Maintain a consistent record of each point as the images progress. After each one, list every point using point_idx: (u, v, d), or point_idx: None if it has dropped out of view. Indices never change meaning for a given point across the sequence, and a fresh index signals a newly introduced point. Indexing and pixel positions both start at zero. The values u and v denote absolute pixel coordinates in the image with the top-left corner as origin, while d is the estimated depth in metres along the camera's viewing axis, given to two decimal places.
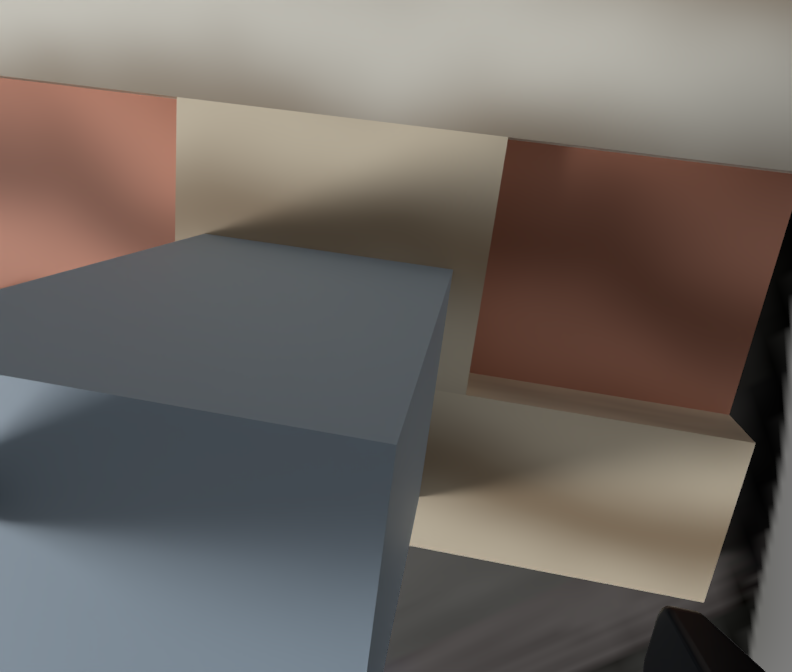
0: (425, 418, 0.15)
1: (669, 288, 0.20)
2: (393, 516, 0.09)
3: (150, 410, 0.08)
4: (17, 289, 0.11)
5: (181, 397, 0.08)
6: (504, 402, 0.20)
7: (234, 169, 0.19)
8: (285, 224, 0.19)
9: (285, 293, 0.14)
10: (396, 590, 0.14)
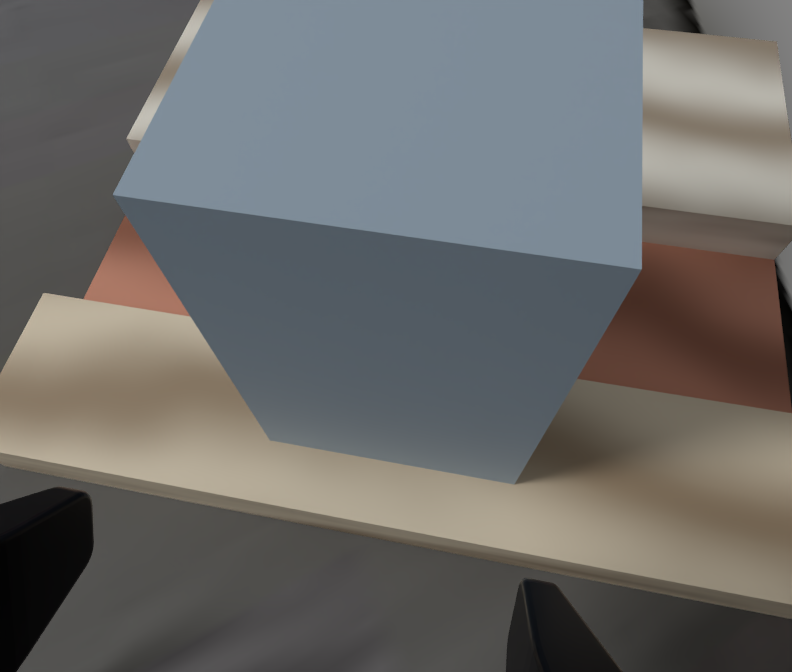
0: None
1: (704, 331, 0.24)
2: None
3: None
4: None
5: None
6: (592, 381, 0.21)
7: None
8: None
9: None
10: None
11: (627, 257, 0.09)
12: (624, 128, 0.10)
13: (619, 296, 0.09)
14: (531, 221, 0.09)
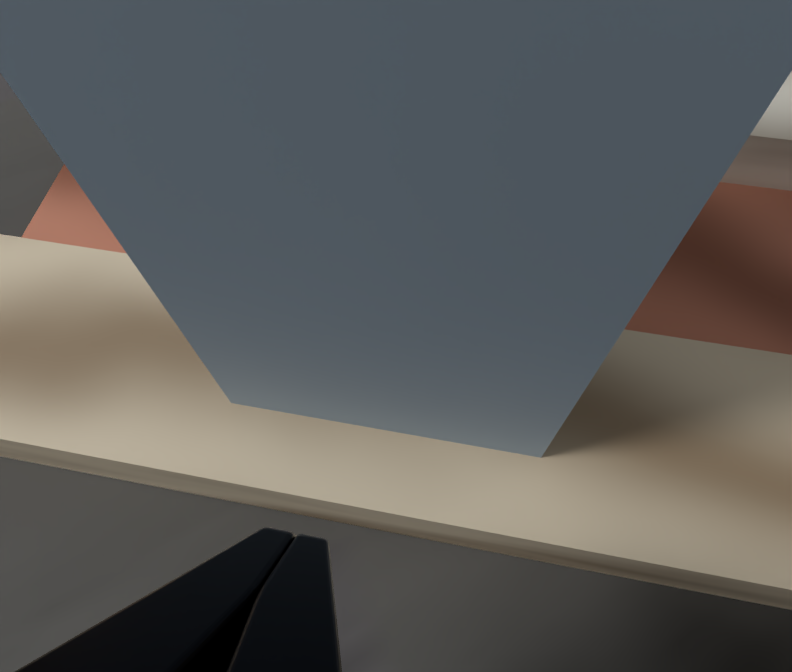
0: None
1: (765, 279, 0.20)
2: None
3: None
4: None
5: None
6: (636, 331, 0.17)
7: None
8: None
9: None
10: None
11: None
12: None
13: (784, 64, 0.05)
14: None
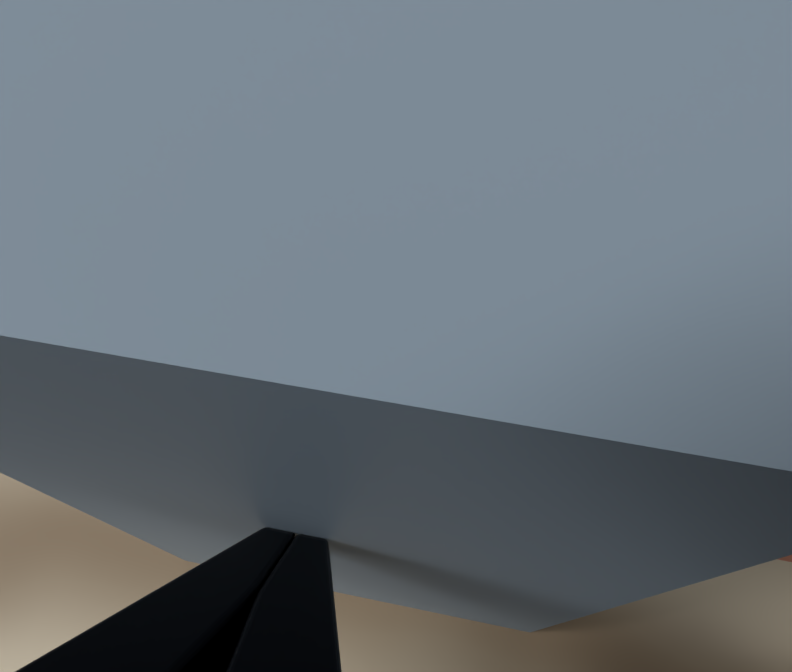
0: None
1: None
2: None
3: None
4: None
5: None
6: None
7: None
8: None
9: None
10: None
11: None
12: None
13: None
14: (622, 343, 0.03)
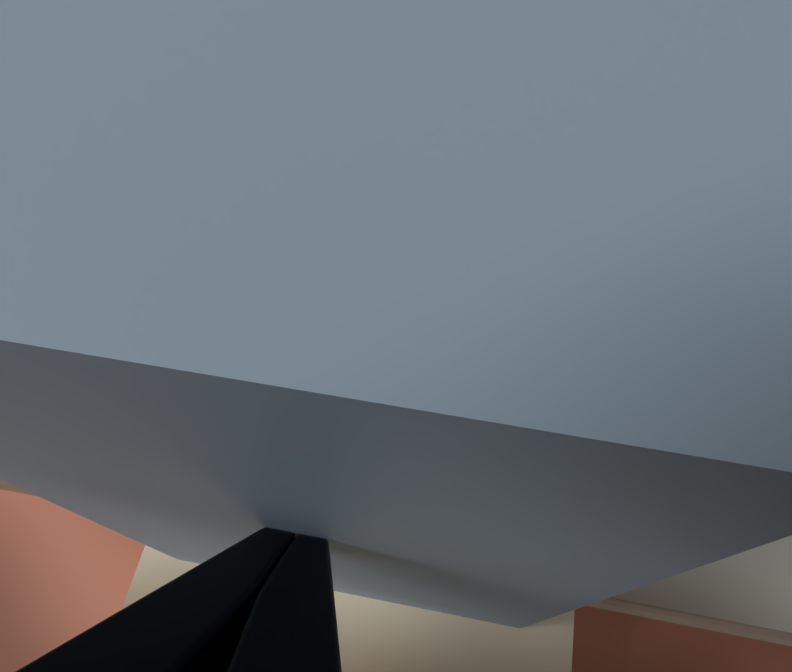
0: None
1: None
2: None
3: None
4: None
5: None
6: None
7: None
8: None
9: None
10: None
11: None
12: (785, 91, 0.04)
13: None
14: (577, 337, 0.03)
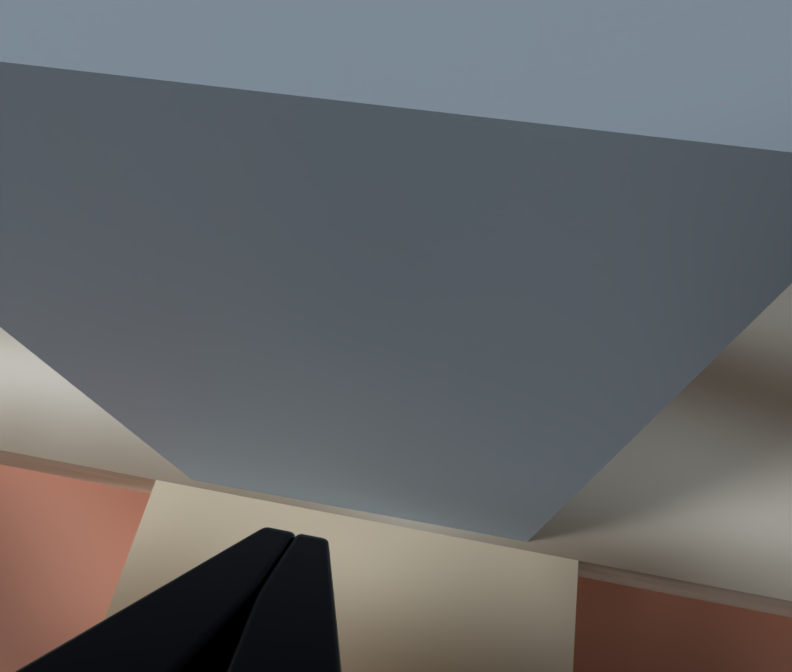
0: None
1: None
2: None
3: None
4: None
5: None
6: None
7: None
8: None
9: None
10: None
11: None
12: None
13: None
14: (601, 61, 0.04)
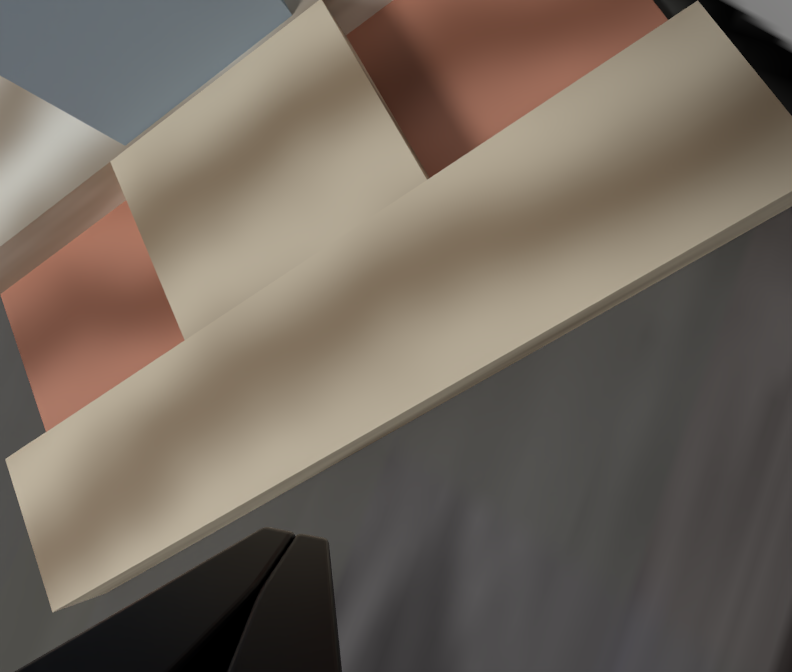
0: None
1: (539, 12, 0.21)
2: None
3: None
4: None
5: None
6: (462, 157, 0.19)
7: (165, 172, 0.23)
8: (215, 176, 0.22)
9: None
10: None
11: None
12: None
13: None
14: None
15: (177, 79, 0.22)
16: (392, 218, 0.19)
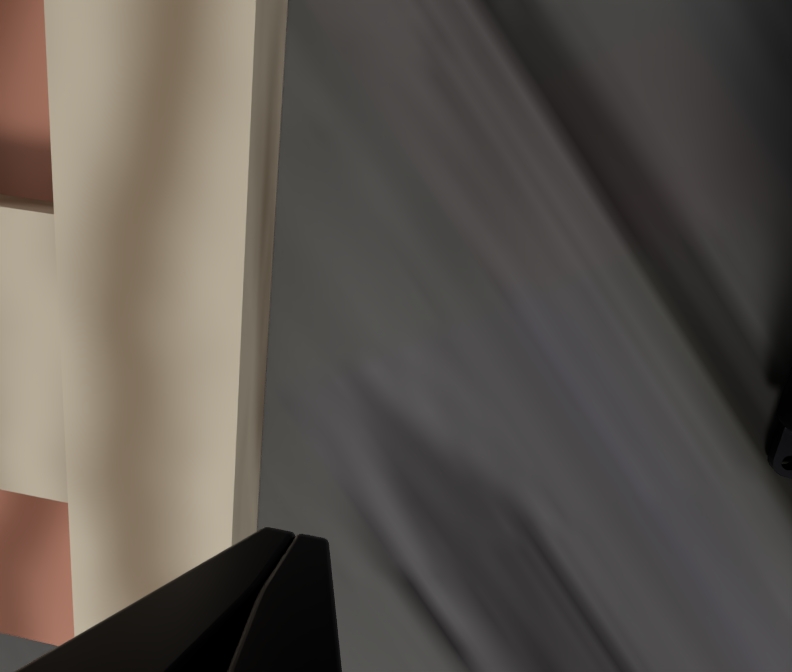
0: None
1: None
2: None
3: None
4: None
5: None
6: (52, 171, 0.18)
7: None
8: None
9: None
10: None
11: None
12: None
13: None
14: None
15: None
16: (70, 267, 0.19)
